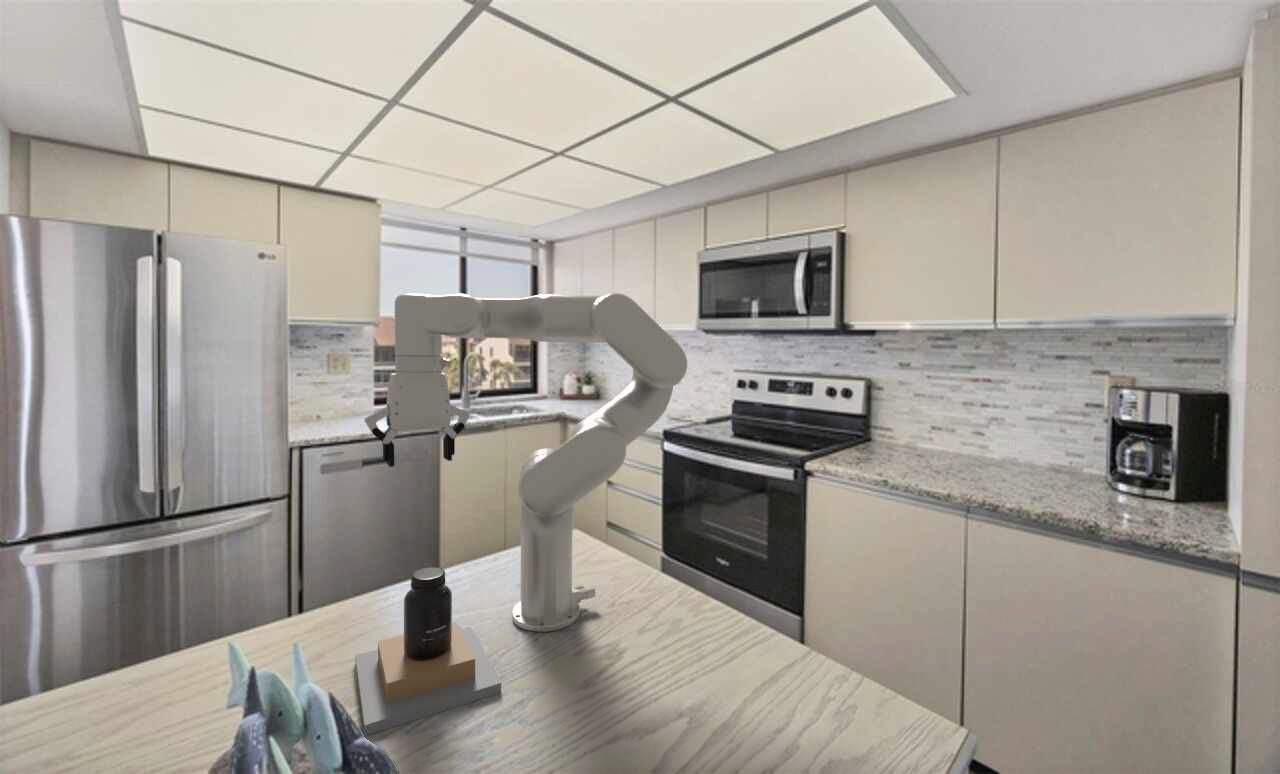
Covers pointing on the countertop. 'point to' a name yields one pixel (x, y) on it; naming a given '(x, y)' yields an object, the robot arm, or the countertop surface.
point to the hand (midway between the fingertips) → (419, 462)
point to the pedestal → (421, 680)
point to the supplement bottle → (427, 615)
